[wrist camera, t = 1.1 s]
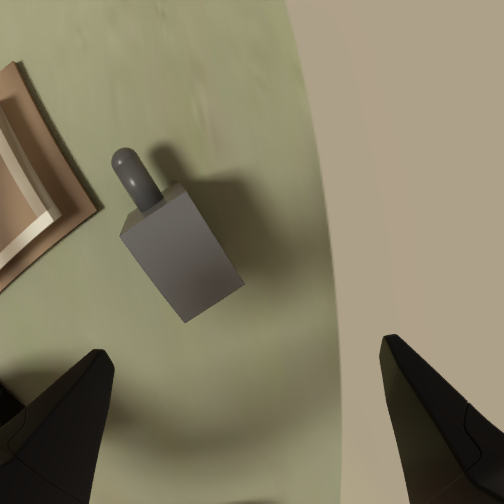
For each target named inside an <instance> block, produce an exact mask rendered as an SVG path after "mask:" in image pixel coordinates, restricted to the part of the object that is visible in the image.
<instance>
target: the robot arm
mask: <svg viewBox="0 0 504 504" xmlns="http://www.w3.org/2000/svg"><path fill="white" fill-rule="evenodd" d="M379 358H380V365H381V371H382V377H383V383H384V390H385V396H386V403H387V407H388V411H389V415H390V418H391V422H392V426H393V430H394V434H395V438H396V442H397V446H398V450H399V455H400V459H401V463H402V468H403V472H404V477H405V481H406V487H407V491H408V496H409V501H410V504H504V433H503V432H502V431H500V430H499V429H498V428H497V427H496V426H494V425H493V424H492V423H491V422H489V421H488V420H487V419H486V418H485V417H484V416H483V415H482V414H481V413H480V412H478V411H477V410H476V409H475V408H474V407H473V406H472V405H471V404H470V403H468V402H467V400H466V399H465V398H464V397H463V396H462V395H461V394H460V393H459V392H458V391H457V390H456V389H454V388H453V387H452V386H451V385H450V384H449V383H448V382H447V381H446V380H445V379H444V378H443V377H442V376H441V375H440V374H439V373H438V372H437V371H436V370H435V369H434V368H433V367H431V366H430V365H429V364H428V363H427V362H426V361H425V360H424V359H423V358H422V357H421V356H420V355H419V354H418V353H416V352H415V351H414V350H413V349H412V348H411V347H410V346H409V345H408V344H407V343H406V342H405V341H404V340H402V339H401V338H400V337H399V336H398V335H396V334H392V335H386V336H384V337H383V339H382V344H381V349H380V354H379ZM114 372H115V368H114V365H113V363H112V361H111V359H110V358H109V356H108V354H107V353H106V351H105V350H103V349H93V350H92V351H90V352H89V353H88V354H87V355H86V356H85V357H83V358H82V359H81V360H80V361H79V362H77V363H76V364H75V365H74V366H73V367H72V368H70V369H69V370H68V371H67V372H66V373H65V374H63V375H62V376H61V377H60V378H59V379H58V380H57V381H55V382H54V383H53V384H52V385H51V386H50V387H48V388H47V389H46V390H45V391H44V392H43V393H42V394H40V395H39V396H38V397H37V398H36V399H35V400H34V401H32V402H31V403H30V404H29V405H28V406H27V408H25V407H24V406H23V405H22V404H21V403H20V402H19V401H17V400H16V399H15V398H14V397H13V396H12V395H11V394H10V393H9V392H8V391H7V390H6V389H5V388H4V387H3V386H2V385H1V384H0V504H89V500H90V494H91V489H92V483H93V478H94V473H95V468H96V463H97V458H98V453H99V448H100V444H101V439H102V435H103V431H104V426H105V422H106V418H107V414H108V410H109V404H110V398H111V391H112V384H113V378H114Z"/></svg>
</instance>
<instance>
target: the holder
mask: <svg viewBox="0 0 504 504" xmlns="http://www.w3.org/2000/svg"><path fill="white" fill-rule="evenodd" d="M97 210H98V208H97V206H96V205H95V203H94V202H93V200H92V199H91V197H90V196H89V194H88V193H87V191H86V189H85V188H84V186H83V185H82V183H81V181H80V180H79V178H78V177H77V175H76V173H75V172H74V170H73V168H72V167H71V165H70V163H69V162H68V160H67V158H66V157H65V155H64V153H63V152H62V150H61V148H60V147H59V145H58V143H57V141H56V140H55V138H54V136H53V134H52V132H51V131H50V129H49V127H48V125H47V123H46V122H45V120H44V118H43V116H42V114H41V112H40V110H39V108H38V107H37V105H36V103H35V101H34V99H33V97H32V95H31V93H30V91H29V89H28V87H27V85H26V83H25V81H24V79H23V77H22V75H21V73H20V70H19V68H18V66H17V64H16V62H14V61H12V62H11V63H10V64H8V65H7V66H6V67H5V68H4V69H3V70H2V71H0V291H1V290H2V289H4V288H5V287H6V286H7V285H8V284H9V283H10V282H11V281H12V280H13V279H14V278H15V277H16V276H18V275H19V274H20V273H21V272H22V271H23V270H24V269H25V268H27V267H28V266H29V265H30V264H31V263H32V262H33V261H35V260H36V259H37V258H38V257H39V256H40V255H42V254H43V253H44V252H45V251H46V250H47V249H49V248H50V247H51V246H52V245H54V244H55V243H56V242H57V241H58V240H60V239H61V238H62V237H63V236H65V235H66V234H67V233H68V232H70V231H71V230H72V229H73V228H75V227H76V226H77V225H79V224H80V223H81V222H83V221H84V220H85V219H86V218H88V217H89V216H90V215H92V214H93V213H94V212H96V211H97Z"/></svg>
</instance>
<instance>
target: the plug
mask: <svg viewBox="0 0 504 504" xmlns="http://www.w3.org/2000/svg"><path fill="white" fill-rule="evenodd" d="M111 164H112V168H113V170H114V171H115V173H116V174H117V176H118V178H119V179H120V181H121V182H122V184H123V186H124V187H125V189H126V190H127V192H128V193H129V195H130V196H131V198H132V200H133V201H134V203H135V204H136V206H137V207H138V208H137V209H136V210H134V211H133V212H131V213H130V214H128V216H127V218H126V221H125V223H124V226H123V228H122V231H121V233H120V236H119V237H120V238H121V239H122V241H123V242H124V244H125V245H126V247H127V248H128V249H129V251H130V252H131V254H132V255H133V256H134V258H135V259H136V260H137V262H138V263H139V265H140V266H141V267H142V269H143V270H144V271H145V273H146V274H147V275H148V277H149V278H150V279H151V281H152V282H153V283H154V285H155V286H156V287H157V289H158V290H159V291H160V293H161V294H162V295H163V296H164V298H165V299H166V300H167V302H168V303H169V304H170V305H171V307H172V308H173V309H174V310H175V312H176V313H177V314H178V315H179V317H180V318H181V319H182V320H183V322H184V323H186V322H188V321H190V320H191V319H193V318H194V317H196V316H197V315H199V314H200V313H202V312H204V311H205V310H207V309H208V308H210V307H211V306H213V305H214V304H216V303H217V302H219V301H220V300H222V299H224V298H225V297H227V296H228V295H230V294H231V293H233V292H234V291H236V290H237V289H239V288H240V287H242V286H243V285H245V283H244V282H243V280H242V279H241V277H240V275H239V274H238V272H237V271H236V269H235V268H234V266H233V265H232V263H231V261H230V260H229V258H228V257H227V255H226V254H225V252H224V250H223V249H222V247H221V246H220V244H219V243H218V241H217V239H216V238H215V236H214V235H213V233H212V232H211V230H210V228H209V227H208V225H207V224H206V222H205V220H204V219H203V217H202V216H201V214H200V212H199V211H198V209H197V208H196V206H195V204H194V203H193V201H192V200H191V198H190V196H189V195H188V193H187V192H186V190H185V189H184V188H183V187H182V186H181V185H180V184H179V183H178V182H176V183H175V184H173V185H172V186H170V187H168V188H167V189H165V190H164V191H162V192H160V190H159V189H158V187H157V185H156V184H155V182H154V181H153V179H152V177H151V176H150V174H149V173H148V171H147V169H146V168H145V166H144V165H143V163H142V161H141V160H140V158H139V157H138V155H137V153H136V152H135V151H134V150H133V149H131V148H121V149H119V150H117V151H116V152H115V153H114V155H113V157H112V161H111Z"/></svg>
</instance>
